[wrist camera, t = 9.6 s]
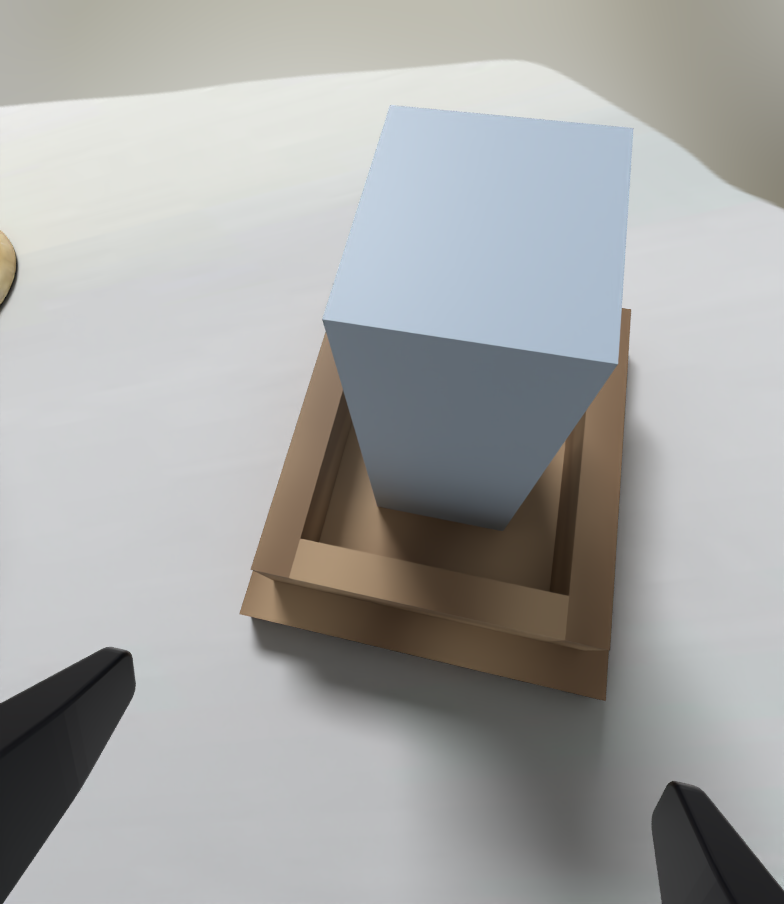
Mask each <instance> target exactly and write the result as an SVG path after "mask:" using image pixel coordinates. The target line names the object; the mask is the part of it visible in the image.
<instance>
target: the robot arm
mask: <svg viewBox="0 0 784 904" xmlns="http://www.w3.org/2000/svg"><path fill="white" fill-rule="evenodd" d="M135 687H136V682H135V674H134V666H133V658H132V655H131V653H130V652H129V651H127V650H123V649H118V648H114V647H106V648H103V649H101V650H99V651H97V652H95V653H93V654H92V655H90V656H88V657H86V658H84V659H82V660H80V661H79V662H77V663H75V664H73V665H71V666H69V667H67V668H65V669H64V670H62V671H60V672H58V673H56V674H54V675H52V676H51V677H49V678H47V679H45V680H43V681H41V682H39V683H38V684H36V685H34V686H32V687H30V688H28V689H26V690H24V691H23V692H21V693H19V694H17V695H15V696H13V697H11V698H10V699H8V700H6V701H4V702H2V703H0V904H3V903H4V901H5V900H6V898H7V897H8V895H9V894H10V892H11V891H12V890H13V888H14V887H15V885H16V884H17V882H18V881H19V879H20V878H21V876H22V875H23V873H24V872H25V871H26V869H27V868H28V866H29V865H30V863H31V862H32V860H33V859H34V857H35V856H36V854H37V853H38V852H39V850H40V849H41V847H42V846H43V844H44V843H45V841H46V840H47V838H48V837H49V835H50V834H51V832H52V831H53V830H54V828H55V827H56V825H57V824H58V822H59V821H60V819H61V818H62V816H63V815H64V813H65V812H66V811H67V809H68V808H69V806H70V805H71V803H72V802H73V800H74V799H75V797H76V796H77V794H78V792H79V791H80V789H81V788H82V786H83V784H84V783H85V781H86V779H87V778H88V776H89V774H90V773H91V771H92V769H93V767H94V765H95V764H96V762H97V760H98V758H99V757H100V755H101V753H102V751H103V749H104V748H105V746H106V744H107V742H108V741H109V739H110V737H111V735H112V733H113V732H114V730H115V728H116V726H117V725H118V723H119V721H120V719H121V717H122V716H123V714H124V712H125V710H126V709H127V707H128V705H129V703H130V701H131V699H132V697H133V695H134V692H135ZM652 835H653V842H654V849H655V857H656V864H657V871H658V878H659V886H660V893H661V900H662V904H784V890H783V889H782V888H781V886H780V885H779V884H778V883H777V881H776V880H775V879H774V878H773V876H772V875H771V874H770V873H769V872H768V870H767V869H766V868H765V867H764V865H763V864H762V863H761V862H760V860H759V859H758V858H757V857H756V855H755V854H754V853H753V852H752V850H751V849H750V848H749V847H748V845H747V844H746V843H745V842H744V841H743V839H742V838H741V837H740V836H739V834H738V833H737V832H736V831H735V829H734V828H733V827H732V826H731V824H730V823H729V822H728V821H727V819H726V818H725V817H724V816H723V814H722V813H721V812H720V811H719V810H718V808H717V807H716V806H715V805H714V803H713V802H712V801H711V800H710V798H709V797H708V796H707V795H706V794H705V792H704V791H702V790H701V789H700V788H698V787H696V786H694V785H689V784H685V783H681V782H677V781H672V782H670V783H668V785H667V786H666V788H665V790H664V792H663V794H662V796H661V798H660V800H659V802H658V804H657V806H656V808H655V809H654V812H653V815H652Z"/></svg>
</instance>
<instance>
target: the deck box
mask: <svg viewBox="0 0 784 904" xmlns="http://www.w3.org/2000/svg"><path fill="white" fill-rule="evenodd" d="M632 141H633V128H626V127H616V126H605V125H595V124H584V123H574V122H563V121H553V120H542V119H531V118H521V117H510V116H500V115H489V114H479V113H468V112H458V111H447V110H437V109H426V108H416V107H405V106H395V105H390V107H389V110H388V113H387V117H386V120H385V123H384V126H383V129H382V132H381V135H380V139H379V142H378V145H377V148H376V151H375V154H374V158H373V161H372V164H371V167H370V170H369V173H368V177H367V180H366V183H365V186H364V189H363V192H362V195H361V199H360V202H359V205H358V208H357V211H356V214H355V218H354V221H353V224H352V227H351V230H350V233H349V237H348V240H347V243H346V246H345V249H344V252H343V255H342V259H341V262H340V265H339V268H338V271H337V274H336V278H335V281H334V284H333V287H332V290H331V293H330V297H329V300H328V303H327V306H326V309H325V312H324V315H323V319H322V320H323V323H324V327H325V330H326V333H327V337H328V340H329V344H330V347H331V350H332V354H333V357H334V361H335V364H336V367H337V371H338V374H339V378H340V381H341V384H342V388H343V391H344V395H345V398H346V402H347V405H348V408H349V412H350V415H351V419H352V422H353V425H354V429H355V432H356V436H357V439H358V442H359V446H360V449H361V453H362V456H363V459H364V463H365V466H366V470H367V473H368V476H369V480H370V483H371V487H372V490H373V493H374V497H375V500H376V504H377V506H378V507H383V508H388V509H393V510H398V511H403V512H408V513H413V514H418V515H423V516H428V517H433V518H438V519H443V520H448V521H454V522H459V523H464V524H469V525H474V526H479V527H484V528H489V529H494V530H499V531H503V530H504V529H505V528H506V526H507V525H508V523H509V522H510V520H511V519H512V517H513V516H514V515H515V513H516V512H517V510H518V509H519V507H520V506H521V504H522V503H523V501H524V500H525V499H526V497H527V496H528V494H529V493H530V491H531V490H532V488H533V487H534V485H535V484H536V483H537V481H538V480H539V478H540V477H541V475H542V474H543V472H544V471H545V469H546V468H547V467H548V465H549V464H550V462H551V461H552V459H553V458H554V456H555V455H556V454H557V452H558V451H559V449H560V448H561V446H562V445H563V443H564V442H565V440H566V439H567V438H568V436H569V435H570V433H571V432H572V430H573V429H574V427H575V426H576V424H577V423H578V422H579V420H580V419H581V417H582V416H583V414H584V413H585V411H586V410H587V408H588V407H589V406H590V404H591V403H592V401H593V400H594V398H595V397H596V395H597V394H598V393H599V391H600V390H601V388H602V387H603V385H604V384H605V382H606V381H607V379H608V378H609V377H610V375H611V374H612V372H613V371H614V369H615V368H616V366H617V365H618V357H619V342H620V326H621V311H622V295H623V280H624V264H625V249H626V233H627V218H628V203H629V187H630V172H631V156H632Z"/></svg>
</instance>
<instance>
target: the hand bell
mask: <svg viewBox="0 0 784 904" xmlns="http://www.w3.org/2000/svg"><path fill="white" fill-rule="evenodd" d="M15 270H16V256H15V251H14V248H13V246H12V244H11V242H10V241H9V239H8V238H7V237H6V235H5V234H4V233H3V232H1V231H0V304H1V303H2V302H3V300H4V298H5V297H6V295H7V293H8V291H9V289H10V287H11V284H12V282H13V279H14V275H15Z"/></svg>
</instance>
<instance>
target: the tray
mask: <svg viewBox="0 0 784 904" xmlns="http://www.w3.org/2000/svg"><path fill="white" fill-rule="evenodd" d="M630 319H631V309H625V308H622V311H621V326H620V342H619V357H618V365H617V366H616V368H615V369H614V371H613V372H612V374H611V375H610V377H609V378H608V379H607V381H606V382H605V384H604V385H603V387H602V388H601V390H600V391H599V393H598V394H597V395H596V397H595V398H594V400H593V401H592V403H591V404H590V406H589V407H588V408H587V410H586V411H585V413H584V414H583V416H582V417H581V419H580V420H579V422H578V423H577V424H576V426H575V427H574V429H573V430H572V432H571V433H570V435H569V436H568V438H567V439H566V440H565V442H564V443H563V445H562V446H561V448H560V449H559V451H558V452H557V454H556V455H555V456H554V458H553V459H552V461H551V462H550V464H549V465H548V467H547V468H546V469H545V471H544V472H543V474H542V475H541V477H540V478H539V480H538V481H537V483H536V484H535V485H534V487H533V488H532V490H531V491H530V493H529V494H528V496H527V497H526V499H525V500H524V501H523V503H522V504H521V506H520V507H519V509H518V510H517V512H516V513H515V515H514V516H513V517H512V519H511V520H510V522H509V523H508V525H507V526H506V528H505V529H504V530H503V531H499V530H494V529H489V528H484V527H479V526H474V525H469V524H464V523H459V522H454V521H448V520H443V519H438V518H433V517H428V516H423V515H418V514H413V513H408V512H403V511H398V510H393V509H388V508H383V507H378V506H377V504H376V500H375V497H374V493H373V490H372V487H371V483H370V480H369V476H368V473H367V470H366V466H365V463H364V459H363V456H362V453H361V449H360V446H359V442H358V439H357V436H356V432H355V429H354V425H353V422H352V419H351V415H350V412H349V408H348V405H347V402H346V398H345V395H344V391H343V388H342V384H341V381H340V378H339V374H338V371H337V367H336V364H335V361H334V357H333V354H332V350H331V347H330V344H329V340H328V337H327V333H326V332H325V335H324V339H323V342H322V345H321V348H320V351H319V354H318V358H317V361H316V364H315V367H314V370H313V373H312V377H311V380H310V383H309V386H308V389H307V393H306V396H305V399H304V402H303V405H302V408H301V412H300V415H299V418H298V421H297V424H296V427H295V431H294V434H293V437H292V440H291V443H290V446H289V450H288V453H287V456H286V459H285V462H284V465H283V469H282V472H281V475H280V478H279V481H278V484H277V488H276V491H275V494H274V497H273V500H272V503H271V507H270V510H269V513H268V516H267V519H266V522H265V526H264V529H263V532H262V535H261V538H260V541H259V545H258V548H257V551H256V554H255V557H254V560H253V564H252V567H251V570H253V572H252V575H251V579H250V582H249V585H248V588H247V591H246V594H245V598H244V601H243V604H242V607H241V610H240V614H242V615H246V616H250V617H254V618H259V619H263V620H267V621H271V622H275V623H280V624H284V625H288V626H292V627H296V628H301V629H305V630H309V631H313V632H317V633H322V634H326V635H330V636H334V637H339V638H343V639H347V640H351V641H355V642H360V643H364V644H368V645H372V646H376V647H381V648H385V649H389V650H393V651H397V652H402V653H406V654H410V655H414V656H418V657H423V658H427V659H431V660H435V661H439V662H444V663H448V664H452V665H456V666H460V667H465V668H469V669H473V670H477V671H481V672H486V673H490V674H494V675H498V676H503V677H507V678H511V679H515V680H519V681H524V682H528V683H532V684H536V685H540V686H545V687H549V688H553V689H557V690H561V691H566V692H570V693H574V694H578V695H582V696H587V697H591V698H595V699H599V700H603V701H606V687H607V671H608V655H609V650H610V642H611V626H612V610H613V594H614V577H615V561H616V545H617V529H618V513H619V497H620V481H621V464H622V448H623V432H624V416H625V400H626V384H627V368H628V351H629V335H630Z"/></svg>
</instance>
